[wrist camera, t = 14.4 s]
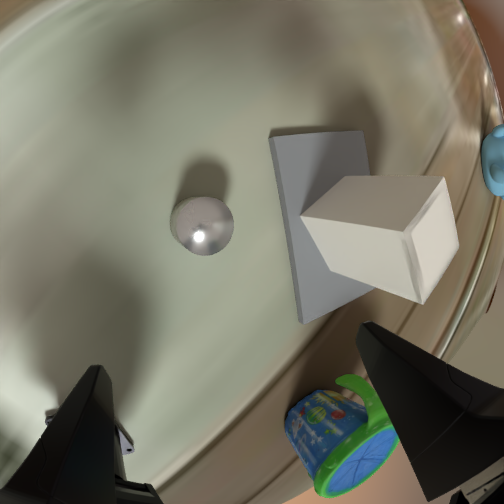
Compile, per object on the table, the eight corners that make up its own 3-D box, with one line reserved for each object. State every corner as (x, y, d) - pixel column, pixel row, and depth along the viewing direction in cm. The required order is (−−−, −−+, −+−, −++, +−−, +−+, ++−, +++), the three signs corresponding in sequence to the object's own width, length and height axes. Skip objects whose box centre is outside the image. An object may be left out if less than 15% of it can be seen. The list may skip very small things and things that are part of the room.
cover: (330, 270, 25) (423, 304, 16) (299, 216, 23) (402, 231, 14) (369, 229, 27) (459, 246, 18) (345, 176, 24) (443, 176, 15)
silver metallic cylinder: (223, 239, 21) (239, 246, 19) (176, 253, 20) (185, 262, 17) (212, 191, 20) (227, 191, 18) (164, 203, 19) (171, 204, 16)
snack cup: (286, 361, 26) (358, 421, 17) (360, 350, 31) (427, 388, 22) (257, 464, 28) (300, 521, 19) (324, 444, 33) (370, 487, 24)
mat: (373, 284, 29) (378, 286, 29) (298, 321, 26) (303, 324, 25) (357, 131, 25) (363, 130, 24) (268, 138, 21) (273, 136, 21)
